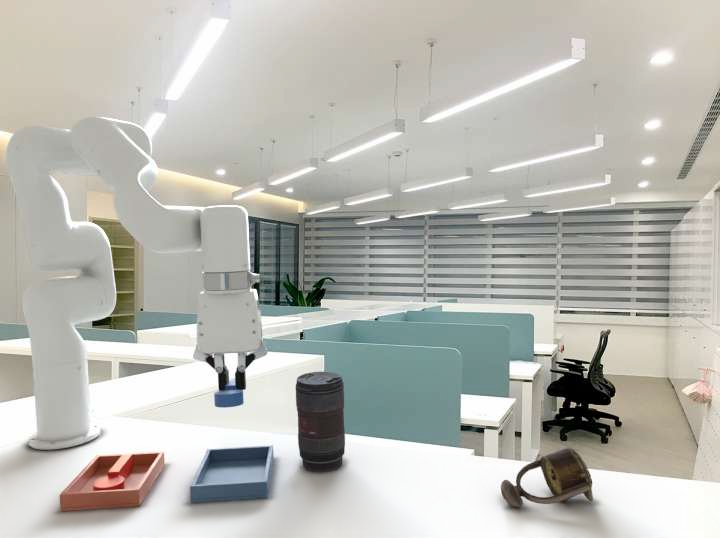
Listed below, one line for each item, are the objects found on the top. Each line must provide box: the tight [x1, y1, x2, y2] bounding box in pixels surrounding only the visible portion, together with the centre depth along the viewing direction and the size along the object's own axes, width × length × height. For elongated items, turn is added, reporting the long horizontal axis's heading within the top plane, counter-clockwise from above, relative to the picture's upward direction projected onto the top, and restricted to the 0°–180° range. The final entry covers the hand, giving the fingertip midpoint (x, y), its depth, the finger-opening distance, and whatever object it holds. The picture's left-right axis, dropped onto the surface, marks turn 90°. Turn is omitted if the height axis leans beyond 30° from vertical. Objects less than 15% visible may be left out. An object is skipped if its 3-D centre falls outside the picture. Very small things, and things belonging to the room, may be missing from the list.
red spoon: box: [93, 455, 133, 491], centre depth 92 cm, size 11×4×3 cm, turn 5°
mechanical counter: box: [500, 446, 594, 508], centre depth 84 cm, size 7×13×10 cm
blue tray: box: [189, 444, 275, 504], centre depth 94 cm, size 15×11×2 cm
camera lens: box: [295, 371, 346, 472], centre depth 98 cm, size 8×8×15 cm
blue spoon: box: [213, 378, 245, 409], centre depth 94 cm, size 11×4×3 cm, turn 5°
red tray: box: [59, 451, 166, 512], centre depth 92 cm, size 15×11×2 cm
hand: (232, 393), depth 95 cm, fingers closed on blue spoon, 1 cm apart
